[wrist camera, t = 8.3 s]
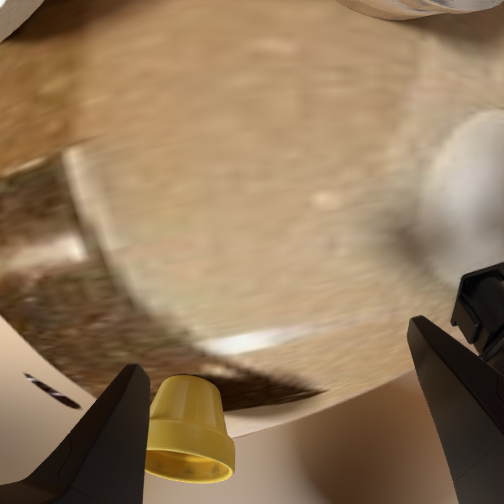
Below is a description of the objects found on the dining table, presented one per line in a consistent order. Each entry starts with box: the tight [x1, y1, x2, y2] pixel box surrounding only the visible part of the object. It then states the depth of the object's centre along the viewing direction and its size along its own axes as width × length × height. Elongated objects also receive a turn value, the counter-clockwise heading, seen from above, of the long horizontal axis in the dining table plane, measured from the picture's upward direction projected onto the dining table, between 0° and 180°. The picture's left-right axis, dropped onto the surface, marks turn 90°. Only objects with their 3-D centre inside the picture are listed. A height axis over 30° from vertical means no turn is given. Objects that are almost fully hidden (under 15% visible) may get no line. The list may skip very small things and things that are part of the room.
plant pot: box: [145, 375, 235, 483], centre depth 28 cm, size 10×10×10 cm
